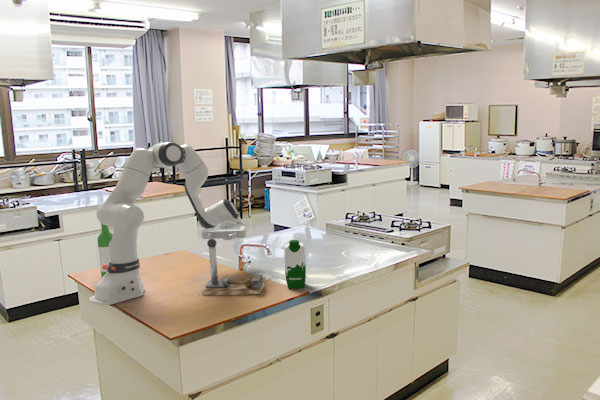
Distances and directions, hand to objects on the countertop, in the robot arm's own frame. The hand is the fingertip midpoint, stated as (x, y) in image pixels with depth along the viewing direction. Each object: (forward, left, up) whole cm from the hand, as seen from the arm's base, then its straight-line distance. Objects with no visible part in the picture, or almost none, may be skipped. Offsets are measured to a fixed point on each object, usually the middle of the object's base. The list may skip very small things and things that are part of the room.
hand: (220, 237), depth 217 cm
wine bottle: (-19, +55, -20) cm, 62 cm away
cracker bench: (-7, -13, -20) cm, 25 cm away
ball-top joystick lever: (-10, -7, -18) cm, 22 cm away
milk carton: (+10, -33, -20) cm, 40 cm away
